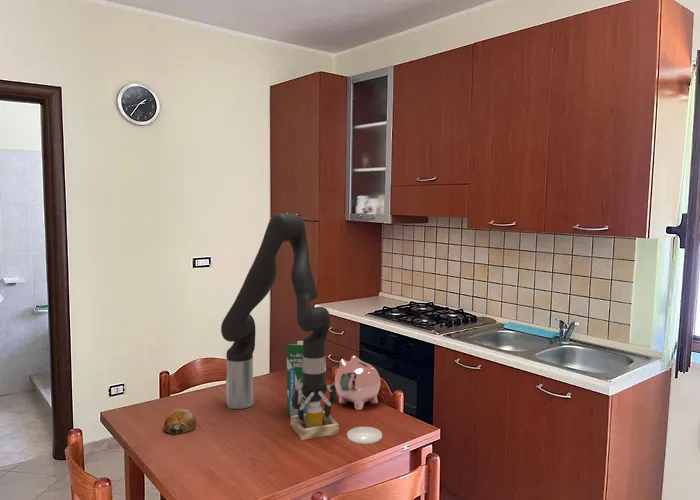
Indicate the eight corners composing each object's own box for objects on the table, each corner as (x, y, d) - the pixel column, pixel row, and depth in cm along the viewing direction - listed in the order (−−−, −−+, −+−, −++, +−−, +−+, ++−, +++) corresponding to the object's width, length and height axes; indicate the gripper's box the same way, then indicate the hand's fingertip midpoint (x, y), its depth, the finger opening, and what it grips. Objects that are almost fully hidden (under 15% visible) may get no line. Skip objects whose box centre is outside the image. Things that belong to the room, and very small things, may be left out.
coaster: (355, 446, 167) (355, 444, 167) (341, 432, 177) (341, 429, 177) (388, 440, 171) (388, 438, 171) (373, 426, 181) (373, 424, 181)
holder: (301, 440, 171) (301, 430, 171) (290, 424, 183) (290, 415, 182) (338, 433, 176) (338, 424, 176) (325, 419, 187) (325, 410, 187)
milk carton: (317, 406, 199) (316, 338, 196) (313, 416, 190) (312, 345, 187) (292, 405, 199) (291, 337, 197) (287, 415, 190) (286, 344, 188)
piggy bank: (353, 390, 215) (353, 350, 213) (388, 402, 203) (389, 360, 201) (324, 401, 204) (324, 358, 203) (360, 414, 192) (360, 369, 190)
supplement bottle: (303, 427, 181) (303, 399, 180) (318, 424, 183) (318, 396, 182) (309, 434, 176) (309, 404, 175) (325, 430, 178) (325, 402, 177)
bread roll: (199, 438, 181) (205, 412, 183) (179, 436, 172) (186, 409, 175) (175, 432, 185) (182, 408, 188) (155, 430, 176) (162, 404, 179)
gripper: (330, 363, 184) (330, 411, 185) (289, 368, 178) (289, 417, 180) (339, 370, 177) (339, 419, 178) (296, 375, 171) (296, 426, 173)
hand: (314, 418), depth 179 cm, fingers open, 8 cm apart
